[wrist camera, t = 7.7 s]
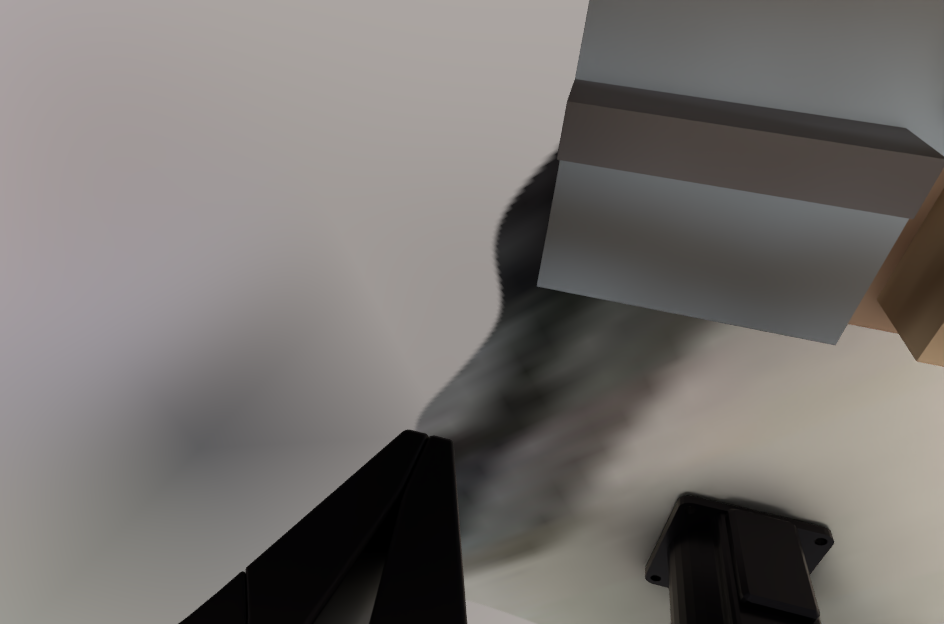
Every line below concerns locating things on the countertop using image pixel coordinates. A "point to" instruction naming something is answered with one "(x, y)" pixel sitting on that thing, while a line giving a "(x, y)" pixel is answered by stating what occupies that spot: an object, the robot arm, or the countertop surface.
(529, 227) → the countertop surface
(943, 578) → the countertop surface
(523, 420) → the countertop surface
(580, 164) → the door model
